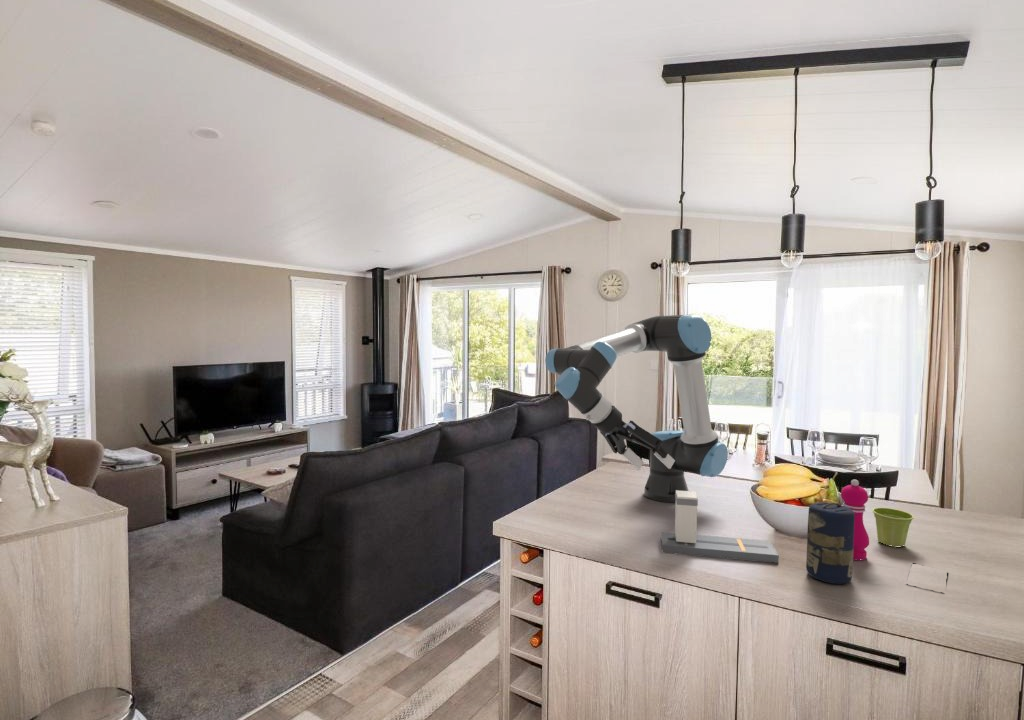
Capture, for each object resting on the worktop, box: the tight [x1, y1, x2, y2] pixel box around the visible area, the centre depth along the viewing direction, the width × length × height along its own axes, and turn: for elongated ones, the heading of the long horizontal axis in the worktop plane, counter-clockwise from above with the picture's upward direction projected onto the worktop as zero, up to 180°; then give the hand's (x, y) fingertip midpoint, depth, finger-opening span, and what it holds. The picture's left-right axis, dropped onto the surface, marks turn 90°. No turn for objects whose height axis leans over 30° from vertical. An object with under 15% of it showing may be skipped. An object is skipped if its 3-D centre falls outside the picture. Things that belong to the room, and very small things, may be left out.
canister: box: [805, 501, 855, 585], centre depth 131 cm, size 10×10×18 cm
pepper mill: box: [840, 479, 870, 561], centre depth 144 cm, size 7×7×20 cm
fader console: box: [660, 531, 780, 564], centre depth 147 cm, size 28×10×2 cm, turn 77°
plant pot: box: [871, 507, 915, 546], centre depth 153 cm, size 9×9×9 cm
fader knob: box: [674, 490, 699, 543], centre depth 149 cm, size 5×6×12 cm
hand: (656, 465), depth 154 cm, fingers open, 13 cm apart
